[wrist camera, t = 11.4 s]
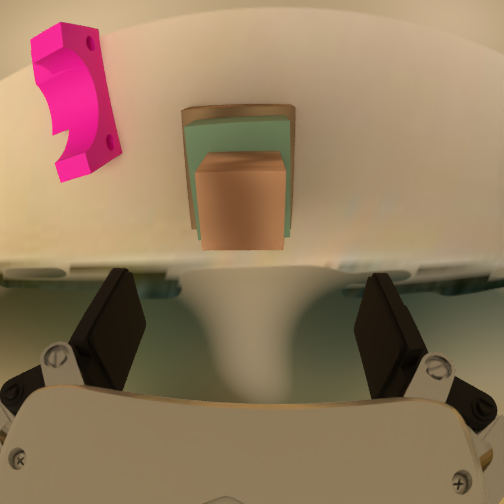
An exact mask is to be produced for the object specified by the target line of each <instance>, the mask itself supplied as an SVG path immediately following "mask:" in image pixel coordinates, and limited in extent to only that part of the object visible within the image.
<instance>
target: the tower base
mask: <svg viewBox="0 0 504 504" xmlns="http://www.w3.org/2000/svg"><path fill="white" fill-rule="evenodd" d="M181 113H182V129H183V143H184V155H185V167H186V178H187V189H188V199H189V209H190V218H191V227H192V229H197V226H196V220H195V213H194V205H193V198H192V191H191V183H190V175H189V167H188V159H187V150H186V141H185V132H184V127H185V126H186V125H188V124H189V123H191V122H192V121H194V120H203V119H214V118H227V117H243V116H269V115H285V116H286V117H287V118H288V119H289V120H290V229H291V219H292V198H293V175H294V146H295V107H294V106H292V105H281V104H240V105H213V106H197V107H189V108H186V109H184V110H181Z"/></svg>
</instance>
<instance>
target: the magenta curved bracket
mask: <svg viewBox="0 0 504 504" xmlns="http://www.w3.org/2000/svg"><path fill="white" fill-rule="evenodd" d="M99 37H100V36H99V30H98V29H95V28H90V27H86V26H81V25H75V24H70V23H64V22H59V23H58V24H56V25H54V26H52V27H51V28H49V29H47V30H45V31H44V32H42V33H41V34H39V35H37V36H36V37H34V38H32V39H31V40H30V41H31V55H32V63H33V70H34V76H35V82H36V85H37V86H38V87H39V88H40V90H41V91H42V93H43V94H44V96H45V98H46V100H47V103H48V106H49V109H50V113H51V118H52V136H53V135H55V134H58V133H60V132H63V131H65V130H68V129H69V136H68V141H67V145H66V147H65V150H64V152H63V154H62V155H61V157H60V158H59V160H58V161H57V162H56V163H55V166H56V169H57V172H58V175H59V179H60V182H61V183H62V182H65V181H68V180H71V179H74V178H78V177H81V176H85V175H88V174H91V173H93V172H94V171H96V170H97V169H99V168H100V167H102V166H103V165H105V164H106V163H108V162H109V161H111V160H112V159H114V158H115V157H117V156H118V155H120V154H122V150H121V146H120V142H119V138H118V134H117V130H116V125H115V121H114V117H113V112H112V107H111V103H110V98H109V93H108V88H107V83H106V78H105V72H104V66H103V61H102V54H101V48H100V41H99Z"/></svg>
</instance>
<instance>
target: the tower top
mask: <svg viewBox="0 0 504 504" xmlns="http://www.w3.org/2000/svg"><path fill="white" fill-rule="evenodd" d="M184 132H185V141H186V150H187V159H188V167H189V175H190V183H191V191H192V198H193V205H194V213H195V220H196V226H197V233H198V240H201V233H200V223H199V213H198V203H197V192H196V181H195V172H196V170H197V169H198V167H199V165H200V164H201V162H202V161H203V159H204V158H205V156H206V155H207V153H208V152H228V151H280V154H281V157H282V160H283V163H284V166H285V170H286V191H285V220H284V237H290V120H289V119H288V118H287V117H286V116H285V115H269V116H243V117H227V118H214V119H203V120H194V121H192V122H191V123H189V124H188V125H186V126H185V127H184Z"/></svg>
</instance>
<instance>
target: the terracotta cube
mask: <svg viewBox="0 0 504 504" xmlns="http://www.w3.org/2000/svg"><path fill="white" fill-rule="evenodd" d="M195 181H196V192H197V203H198V213H199V223H200V233H201V242H202V250H283V245H284V220H285V191H286V170H285V166H284V163H283V160H282V157H281V154H280V151H228V152H208V153H207V155H206V156H205V158H204V159H203V161H202V162H201V164H200V165H199V167H198V169H197V170H196V172H195Z"/></svg>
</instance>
